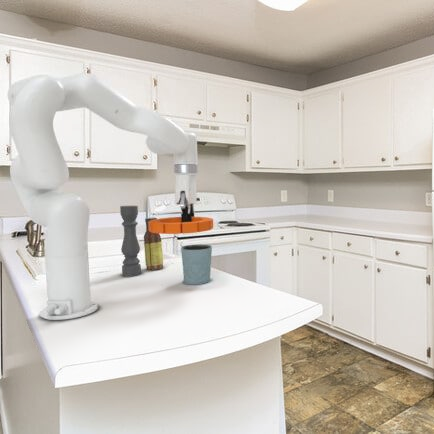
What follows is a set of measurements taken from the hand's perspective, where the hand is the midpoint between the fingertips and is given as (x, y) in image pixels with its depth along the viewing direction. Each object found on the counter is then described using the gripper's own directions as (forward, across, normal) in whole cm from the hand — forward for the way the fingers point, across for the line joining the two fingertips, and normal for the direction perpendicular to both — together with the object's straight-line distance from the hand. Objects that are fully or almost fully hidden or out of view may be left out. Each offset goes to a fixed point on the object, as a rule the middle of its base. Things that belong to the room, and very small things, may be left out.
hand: (188, 224), depth 137 cm
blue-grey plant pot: (+20, +1, +3) cm, 20 cm away
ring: (0, +8, 0) cm, 8 cm away
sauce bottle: (+20, -19, -18) cm, 33 cm away
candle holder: (+20, -10, -24) cm, 32 cm away
